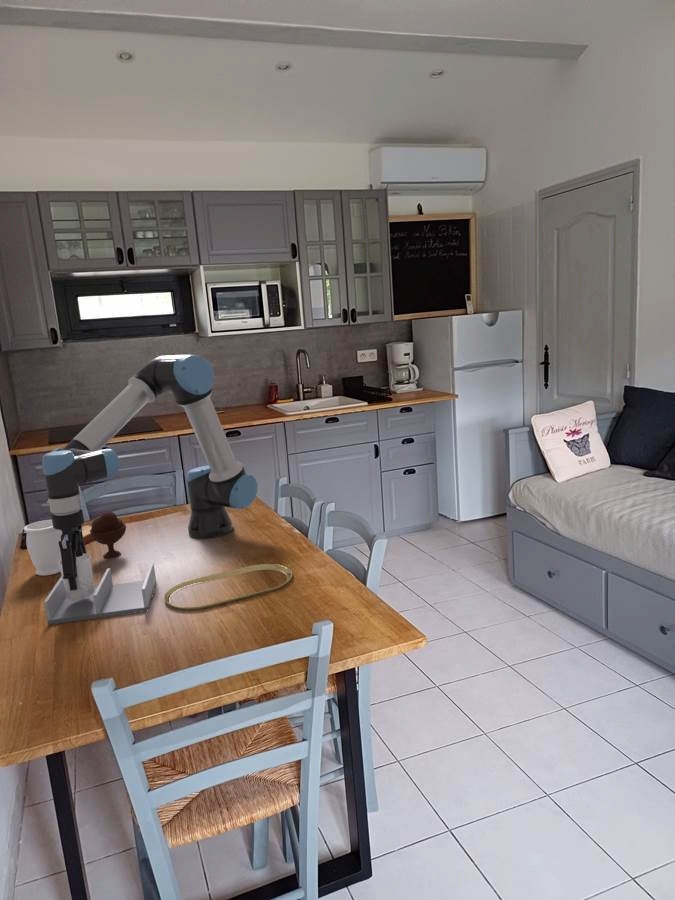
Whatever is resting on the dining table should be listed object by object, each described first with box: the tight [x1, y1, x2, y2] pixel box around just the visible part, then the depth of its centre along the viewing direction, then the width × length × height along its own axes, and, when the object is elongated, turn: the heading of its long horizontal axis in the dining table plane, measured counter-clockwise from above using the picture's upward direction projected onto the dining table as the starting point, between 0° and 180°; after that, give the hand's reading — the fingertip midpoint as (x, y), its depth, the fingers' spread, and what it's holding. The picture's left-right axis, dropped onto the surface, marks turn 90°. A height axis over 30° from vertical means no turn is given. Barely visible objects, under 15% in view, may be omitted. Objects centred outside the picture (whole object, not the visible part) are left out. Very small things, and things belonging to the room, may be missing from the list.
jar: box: [23, 519, 62, 577], centre depth 192 cm, size 11×10×15 cm
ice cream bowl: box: [90, 511, 127, 560], centre depth 202 cm, size 11×11×15 cm
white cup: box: [58, 553, 95, 600], centre depth 166 cm, size 8×8×10 cm
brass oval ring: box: [164, 563, 293, 611], centre depth 172 cm, size 19×35×2 cm, turn 115°
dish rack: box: [43, 562, 157, 626], centre depth 167 cm, size 24×18×6 cm
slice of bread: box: [82, 524, 95, 545], centre depth 221 cm, size 18×18×4 cm
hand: (80, 593), depth 166 cm, fingers closed on white cup, 7 cm apart
